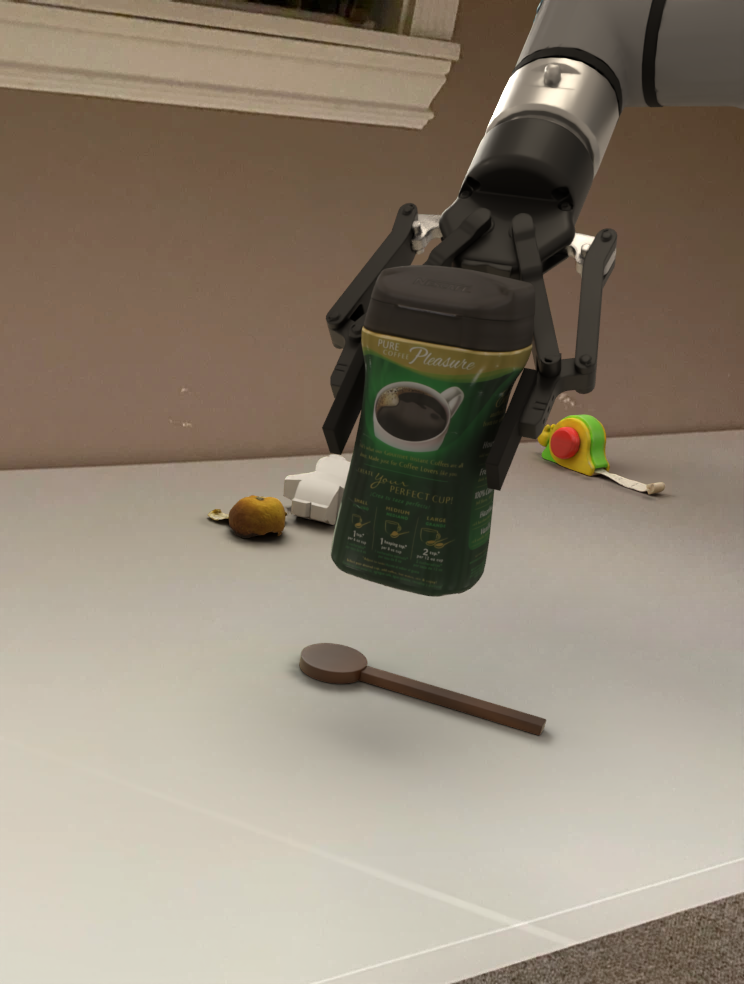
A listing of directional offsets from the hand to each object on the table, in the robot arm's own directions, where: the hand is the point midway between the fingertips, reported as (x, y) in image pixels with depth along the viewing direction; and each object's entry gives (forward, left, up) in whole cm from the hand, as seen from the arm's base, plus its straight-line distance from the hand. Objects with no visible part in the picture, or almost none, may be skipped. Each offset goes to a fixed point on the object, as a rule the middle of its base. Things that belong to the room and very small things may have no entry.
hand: (409, 458), depth 65 cm
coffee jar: (0, -3, -8) cm, 9 cm away
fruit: (+26, -37, -20) cm, 50 cm away
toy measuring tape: (+1, -86, -20) cm, 88 cm away
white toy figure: (+22, -48, -20) cm, 56 cm away
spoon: (0, -11, -20) cm, 23 cm away
